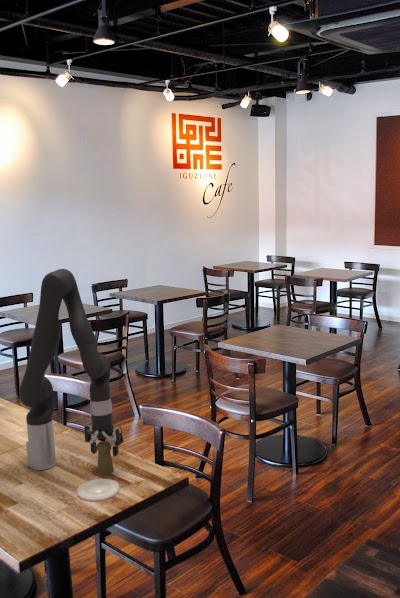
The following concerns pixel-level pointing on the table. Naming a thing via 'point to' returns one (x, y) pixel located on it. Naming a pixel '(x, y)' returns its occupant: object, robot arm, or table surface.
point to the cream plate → (98, 490)
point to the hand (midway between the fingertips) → (105, 454)
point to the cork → (104, 458)
